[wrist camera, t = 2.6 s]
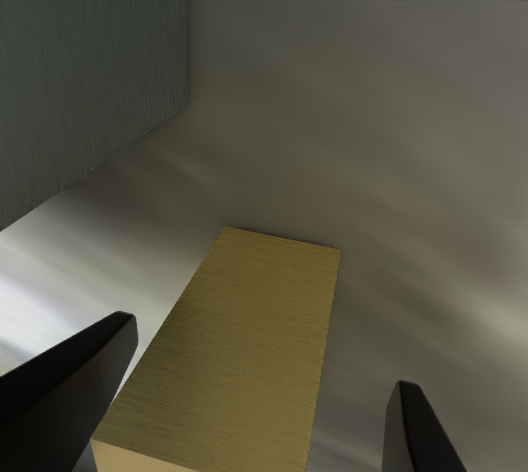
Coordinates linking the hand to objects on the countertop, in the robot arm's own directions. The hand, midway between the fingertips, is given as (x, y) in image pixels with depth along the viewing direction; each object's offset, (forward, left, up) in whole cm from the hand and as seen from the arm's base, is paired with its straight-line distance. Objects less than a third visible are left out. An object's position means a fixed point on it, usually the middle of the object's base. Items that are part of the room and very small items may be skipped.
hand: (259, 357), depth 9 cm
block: (0, 0, -1) cm, 1 cm away
